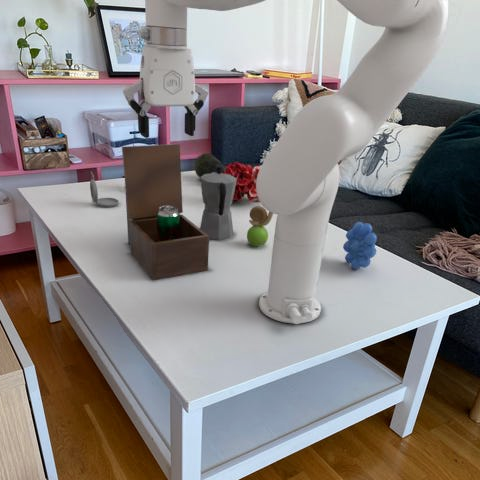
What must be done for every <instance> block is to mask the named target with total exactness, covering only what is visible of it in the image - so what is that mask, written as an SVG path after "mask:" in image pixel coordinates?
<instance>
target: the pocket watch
mask: <svg viewBox="0 0 480 480" xmlns="http://www.w3.org/2000/svg"><path fill="white" fill-rule="evenodd" d="M90 174H91V179H90V180H89V188H90V189H89V190H90V196H91V201H92V202H93V203H94V204H95V205H96V206H99V207H102V208H112V207H115V206H118V205H119V200H118V199H117V198H115V197H100V198H99V193H98V186H97V182H96V180H95V175H94V173H93V172H92V171H91V170H90Z"/></svg>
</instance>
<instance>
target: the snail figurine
mask: <svg viewBox="0 0 480 480" xmlns="http://www.w3.org/2000/svg"><path fill="white" fill-rule="evenodd" d="M273 216H274V213H272V212H270V211H267V209H265V208H264V207H263V206H260V205H255V206H253V207H252V208H251V209H250V211H249V218H250V219H249V220H248V222H249V223H250V225H251V226H250V228H249V229H248V230H247V232H246V239H247V242H248V243H249V244H250V245H252V246H254V247H262V246H264V245H265V244H266V242H267V241H268V240H269V232H268V230H267V228H266V227H265V226H267V225H268V224H270V222H271V221H272V218H273Z"/></svg>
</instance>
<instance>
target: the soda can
mask: <svg viewBox="0 0 480 480" xmlns="http://www.w3.org/2000/svg"><path fill="white" fill-rule="evenodd" d="M180 215H181V213H179V212H178V208H177V207H174V206H161V207H159V208H158V212H157V242H160V241H167V240H174V239H180Z"/></svg>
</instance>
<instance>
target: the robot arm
mask: <svg viewBox="0 0 480 480" xmlns="http://www.w3.org/2000/svg"><path fill="white" fill-rule="evenodd" d="M265 1H266V0H144V4H145V5H144V8H145V9H144V10H145V26H144V29H139V30H138V38H139V39H141V40H144V42H145V44H146V45H142V51H141V57H140V68H139V71H140V72H139V80H138V81H136V82H134V83H133V84H131V85H129V86H127V87H125V88H124V89H123V90H122V93H123V95H124V98H125V100H126V101H127V103H128V105H129V107H130V108H131V109H132V110H133V111H134V112H135V113H136V115H137V129H138V132H139V133H140V136H142V138H144V139H148V138H150V117H149V116H148V114H147V113H148V112H150V109H151V108H152V107H183V108H184V109H185V110H186V112H184V134H186V135H187V136H190V137H194V136H195V132H196V121H197V120H196V118H197V117H196V116H198V114H199V111H200V110H202V108H203V107H204V104H205V102H206V99H207V97H208V95H209V91H208V90H207V89H205V88H203V87H202V86H201V85H199V84H197V83H196V77H195V65H194V58H193V52H192V49H191V48H188V9H194V10H195V9H198V10H207V11H216V12H226V11H227V12H228V11H232V10H237V9H242V8H245V7H250V6H253V5H257V4H261V3H263V2H265ZM336 1H337V2H338V3H339V4H340V5H342V6H343V7H344V8H345V9H346V10H347V11H348V12H349V13H351V15H353V16H354V17H355V18H357V19H358V20H360V21H361V22H363V23H365V24H367V25H370V26H374V27H377V28H378V27H380V28H384V30H383V33H382V34H381V36H380V37H379V39H378V40H377V41H376V42H375V43H374V45H373V46H372V47H371V48H369V50H368V51H367V52H366V53H365V54H364V55H363V57H362V58H361V59H360V60H359V62H358V63H357V66H355V68H354V70H353V72H352V73H351V74H350V76H349V77H348V78H347V79H346V81H345V82H344V83H343V85H342V86H341V87H339V89H337V91H336V92H333V93H332V94H327V95H322V96H318V97H316V98H314V99H312V100H310V101H308V102H307V103H306V104H305V105H303V106H302V107H301V109H299V110H298V112H297V113H296V114H295V115H294V116H293V118H292V119H291V120H290V122H289V123H288V125H287V126H286V128H285V129H284V131H283V132H282V134H281V135H280V137H279V139H278V140H277V141H276V142H275V144H274V146H273V147H272V149H271V150H270V151H269V153H268V155H267V156H266V158H265V159H264V161H263V163H262V164H261V168H260V170H259V173H258V176H257V180H256V191H257V196H258V198H259V201H258V202H259V203H260V204H261V205H262V207H263V208H264V209H265V210H266V211H267V212H269V211H270V212H272V213H273V215H274V214H275V215H277V216H276V221H275V226H274V234H273V244H272V253H271V260H270V261H271V262H270V270H269V279H268V288H267V290H268V291H266V292H264V293H263V294H261V296H260V297H259V301H258V307H259V309H260V311H261V313H262V314H264V315H266V316H267V317H268V318H271V320H275V321H278V322H282V323H286V324H287V323H288V324H294V325H299V324H304V323H309V322H312V321H314V320H316V319H317V318H318V317H320V315H321V311H322V304H321V302H320V301H319V300H318V298H317V297H316V295H317V289H318V284H319V277H320V272H321V267H322V260H323V254H324V248H325V243H326V238H327V233H328V227H329V222H330V218H331V214H332V209H333V206H334V203H335V200H336V196H337V193H338V189H339V186H340V179H341V170H340V166H339V163H340V162H341V161H342V160H344V159H347V158H350V157H352V156H354V155H356V154H358V153H360V152H361V151H362V150H363V149H365V148H366V146H368V144H369V143H370V142H371V140H372V139H373V138H374V137H375V136H376V134H377V132H378V131H379V130H380V129H381V127H383V125H384V124H385V122H387V120H388V119H389V117H390V116H391V115H392V114H393V113H394V112H395V110H396V109H397V107H399V105H400V104H401V102H402V101H403V100H404V99H405V97H406V96H407V94H408V93H409V92H410V91H412V89H413V88H414V86H415V85H416V84H417V82H418V81H419V80H420V79H421V78H422V76H423V75H424V73H426V71H427V69H428V68H429V67H430V66H431V64H432V62H433V61H434V59H435V58H436V55H437V54H438V53H439V50H440V48H441V46H442V43H443V41H444V39H445V36H446V32H447V28H448V23H449V16H450V15H449V14H450V5H449V3H450V2H449V0H336ZM137 93H139V96H140V102H139V103H138V102H137V101H136V100H135V97H134V95H135V94H137ZM196 94H197V99H196Z"/></svg>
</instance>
